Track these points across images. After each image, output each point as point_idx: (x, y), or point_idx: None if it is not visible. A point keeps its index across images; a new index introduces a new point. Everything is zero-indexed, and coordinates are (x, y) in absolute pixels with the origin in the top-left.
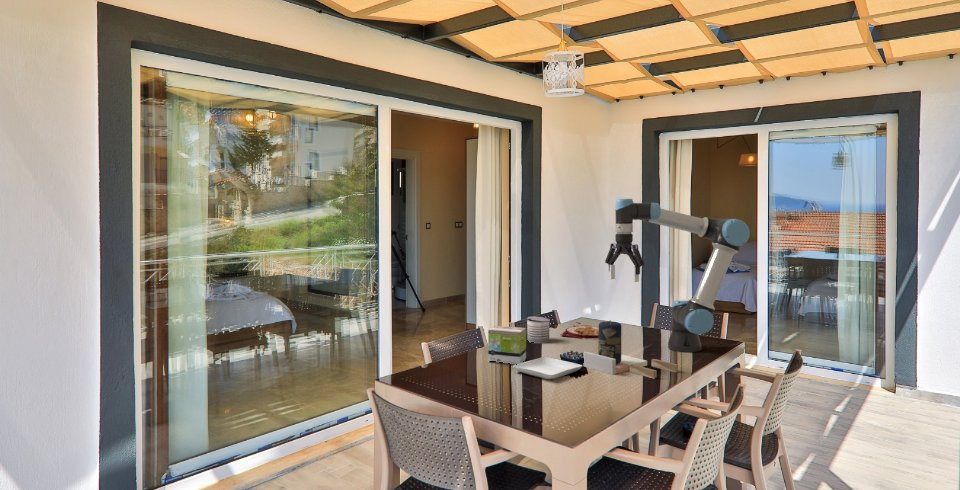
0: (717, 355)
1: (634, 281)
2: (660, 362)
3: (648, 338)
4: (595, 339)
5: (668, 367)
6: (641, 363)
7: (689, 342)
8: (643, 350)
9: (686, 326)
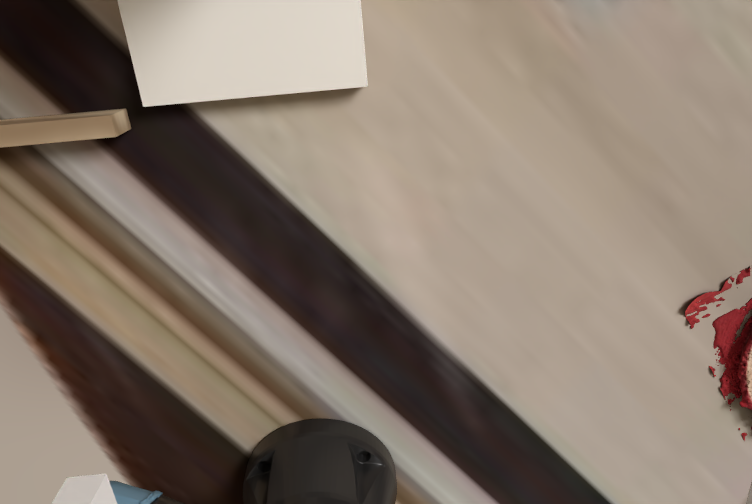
0: None
1: (73, 486)
2: (48, 120)
3: (556, 485)
4: (739, 278)
5: (2, 122)
6: (131, 48)
7: (256, 487)
8: (406, 314)
9: (131, 495)
